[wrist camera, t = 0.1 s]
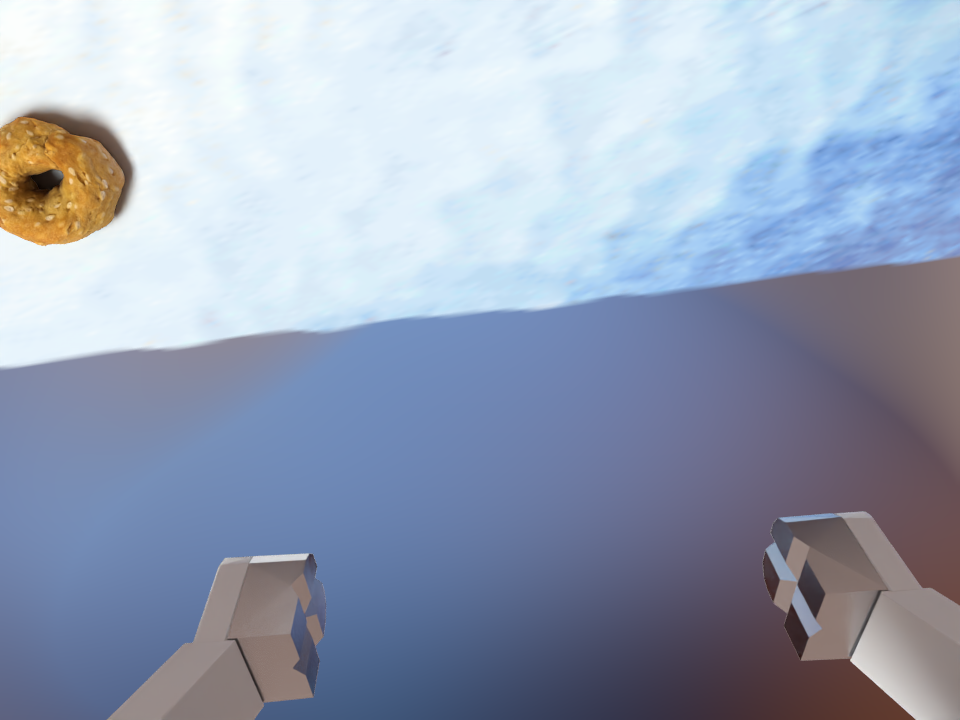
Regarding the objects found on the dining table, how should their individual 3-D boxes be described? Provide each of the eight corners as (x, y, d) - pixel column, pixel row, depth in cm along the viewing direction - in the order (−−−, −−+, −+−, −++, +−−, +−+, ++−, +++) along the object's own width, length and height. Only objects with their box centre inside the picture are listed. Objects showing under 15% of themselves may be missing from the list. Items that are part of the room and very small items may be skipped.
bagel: (150, 220, 58) (128, 243, 54) (28, 239, 59) (-2, 263, 55) (97, 101, 53) (68, 117, 49) (-37, 124, 53) (-76, 141, 49)
